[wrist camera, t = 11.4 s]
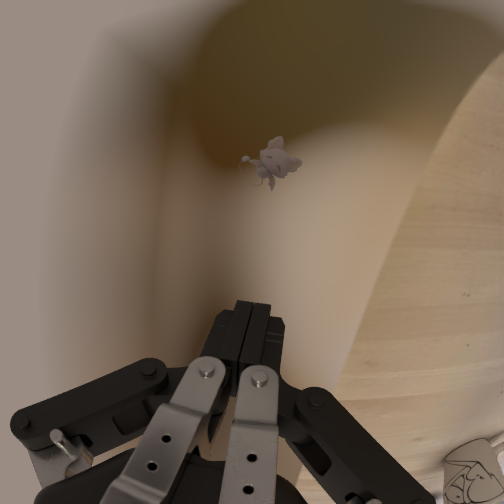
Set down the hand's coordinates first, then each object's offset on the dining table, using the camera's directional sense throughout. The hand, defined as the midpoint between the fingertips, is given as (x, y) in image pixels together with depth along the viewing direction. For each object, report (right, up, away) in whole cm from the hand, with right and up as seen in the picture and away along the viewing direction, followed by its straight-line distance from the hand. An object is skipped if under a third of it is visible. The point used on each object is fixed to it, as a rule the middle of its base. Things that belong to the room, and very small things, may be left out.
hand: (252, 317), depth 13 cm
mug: (+28, -21, +9) cm, 37 cm away
